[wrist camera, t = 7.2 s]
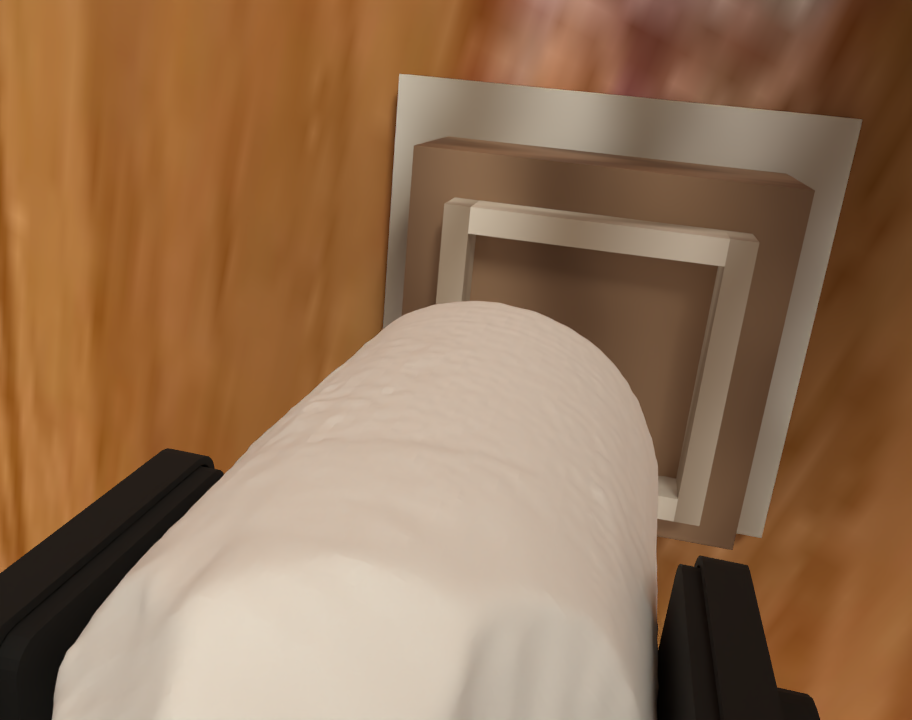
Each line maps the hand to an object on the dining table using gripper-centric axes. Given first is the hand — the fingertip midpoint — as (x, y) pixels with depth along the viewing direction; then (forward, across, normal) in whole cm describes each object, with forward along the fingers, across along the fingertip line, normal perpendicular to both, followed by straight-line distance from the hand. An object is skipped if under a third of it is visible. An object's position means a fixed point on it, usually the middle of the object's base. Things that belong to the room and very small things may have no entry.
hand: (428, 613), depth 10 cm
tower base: (+24, -1, +2) cm, 24 cm away
